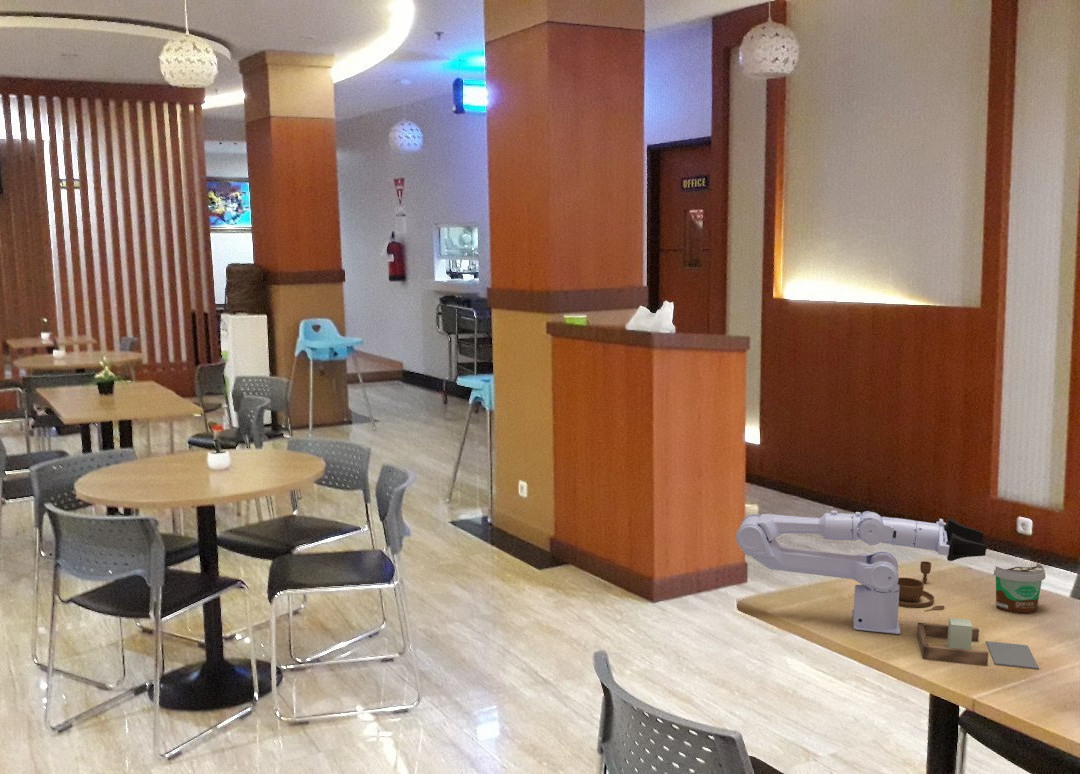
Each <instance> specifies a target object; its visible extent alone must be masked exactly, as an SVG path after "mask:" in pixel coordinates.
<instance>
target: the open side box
mask: <svg viewBox="0 0 1080 774" xmlns="http://www.w3.org/2000/svg"><path fill="white" fill-rule="evenodd" d="M948 626H949V624H948V625H946V624H937V623H926V622H917V628H916V629H917V630H916V634H917V638H918V644H919V648H920V651H921V656H922V659H924V660H932V661H941V662H951V663H952V662H953V663H958V664H959V663H961V664H969V665H977V666H988V664H989V652H988V651H986V650H985V651H984V650H974V649H971V650H967V649H958V648H948V646H938V645H929V642H928V638H927V637H929V638H930V637H931V638H940V639H948ZM979 634H980V629H979V628H978V627H972V641H971V642H979V638H980V637H979Z"/></svg>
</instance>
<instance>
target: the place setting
mask: <svg viewBox="0 0 1080 774" xmlns="http://www.w3.org/2000/svg"><path fill="white" fill-rule="evenodd" d="M919 567H920V568H919V569H920V573H921V574H923V577H922V581H921V580H919V579H916V578H912V577H899V580H898V583H897V584H898V585H899V586H900V591H899V607H902V606H903V608H909V607H910V609H914V608H915V609H919V608H920V609H921V608H928V607H930V606H932V605H933V604H934V601H935V596H934V595H933V594H932V593H930V592H928V591H925V590H924V586H925V585H927V584H928V583H927V581H928V578H927V576H928V575H929V574H930V573H931V570H932V563H931V562H930V561H925V560H923V561H920V566H919ZM922 597H924V598H926V599H927V600H928V601H926V602H918V603H917V602H916V601H917V600H919V599H921V598H922ZM944 609H945V606H944V605H935V606H933V607H932V608H929V609H925V610H924V612H929V611H942V610H944Z"/></svg>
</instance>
